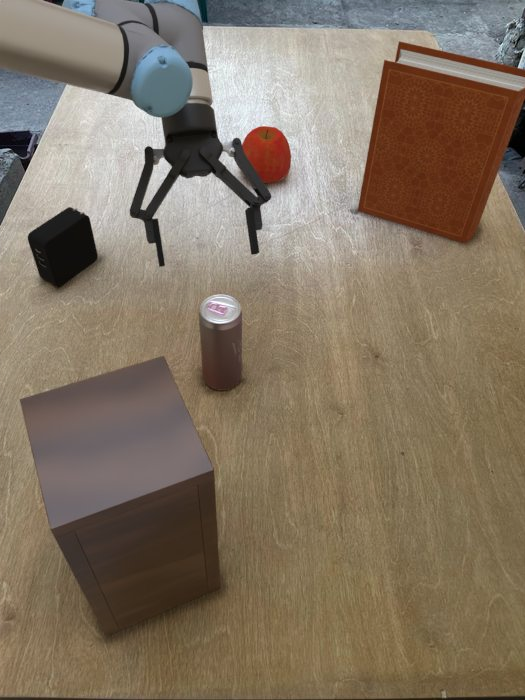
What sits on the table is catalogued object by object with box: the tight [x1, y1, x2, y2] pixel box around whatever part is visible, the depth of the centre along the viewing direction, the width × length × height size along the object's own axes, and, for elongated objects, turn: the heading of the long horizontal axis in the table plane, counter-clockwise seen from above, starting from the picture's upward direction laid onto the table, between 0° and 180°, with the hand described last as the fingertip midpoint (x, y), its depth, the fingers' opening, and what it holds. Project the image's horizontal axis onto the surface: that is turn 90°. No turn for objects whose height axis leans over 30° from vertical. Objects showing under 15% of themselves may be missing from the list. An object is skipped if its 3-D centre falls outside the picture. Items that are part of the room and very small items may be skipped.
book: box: [357, 40, 525, 244], centre depth 113 cm, size 23×8×30 cm, turn 65°
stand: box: [19, 355, 221, 637], centre depth 66 cm, size 14×14×28 cm
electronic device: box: [27, 206, 99, 288], centre depth 107 cm, size 4×10×10 cm, turn 145°
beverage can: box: [198, 293, 243, 391], centre depth 90 cm, size 6×6×15 cm
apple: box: [242, 125, 292, 184], centre depth 128 cm, size 11×11×11 cm
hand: (209, 260), depth 90 cm, fingers open, 13 cm apart
